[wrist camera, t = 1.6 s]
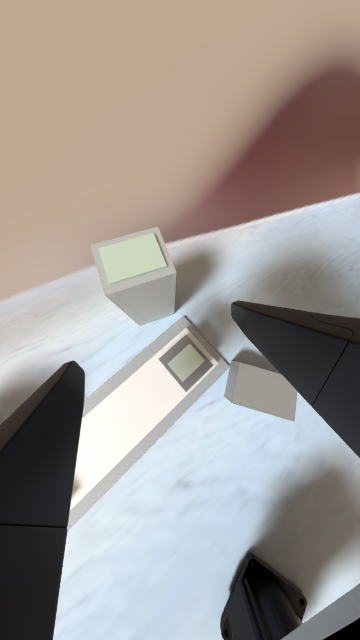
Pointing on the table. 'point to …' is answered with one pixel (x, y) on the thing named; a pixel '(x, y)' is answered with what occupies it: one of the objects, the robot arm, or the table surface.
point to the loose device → (261, 390)
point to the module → (138, 275)
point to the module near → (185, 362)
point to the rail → (133, 415)
